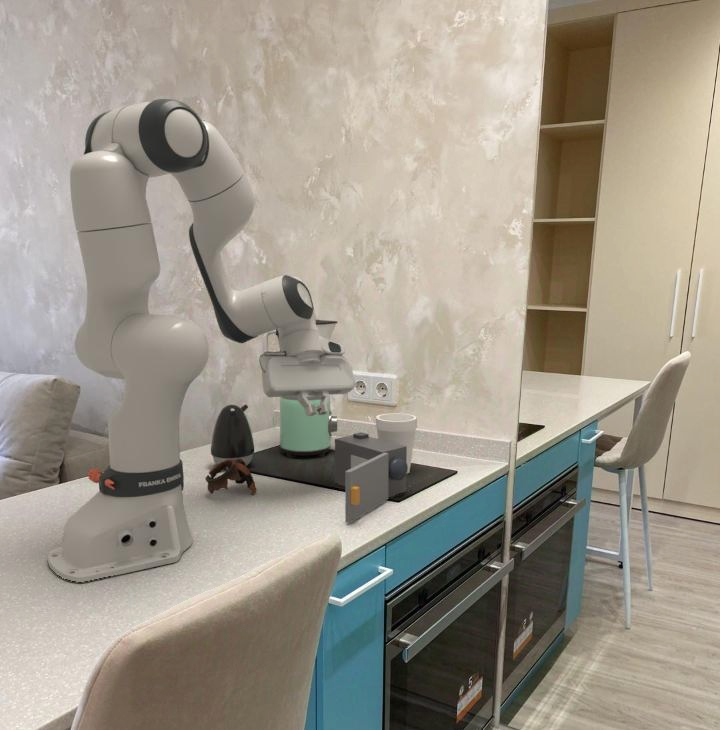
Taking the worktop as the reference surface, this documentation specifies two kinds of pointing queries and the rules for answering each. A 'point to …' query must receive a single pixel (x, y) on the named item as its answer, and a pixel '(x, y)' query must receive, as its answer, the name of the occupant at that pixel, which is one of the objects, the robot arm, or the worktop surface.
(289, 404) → the green blender
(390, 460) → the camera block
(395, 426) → the foam cup
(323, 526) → the worktop surface
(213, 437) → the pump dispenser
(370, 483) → the side door
